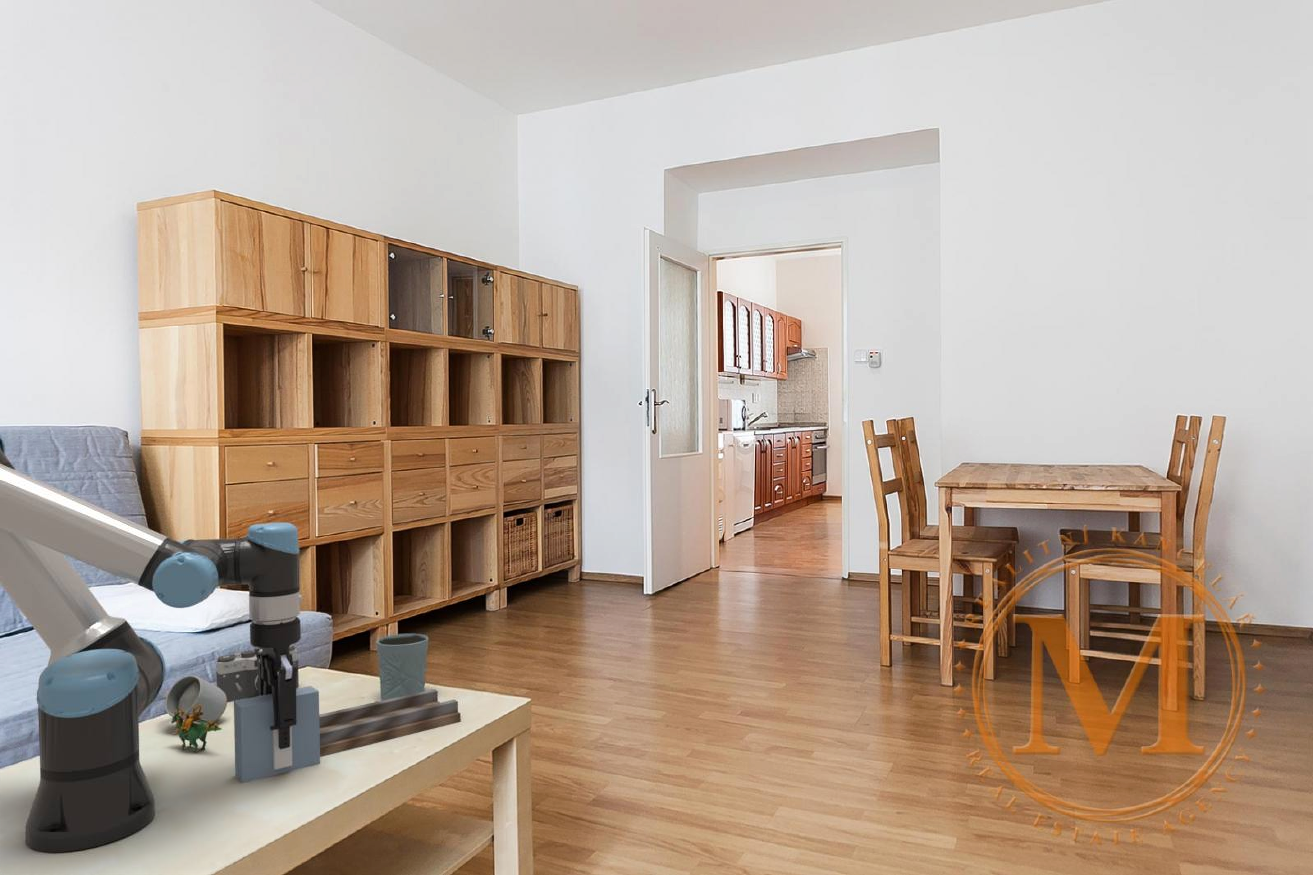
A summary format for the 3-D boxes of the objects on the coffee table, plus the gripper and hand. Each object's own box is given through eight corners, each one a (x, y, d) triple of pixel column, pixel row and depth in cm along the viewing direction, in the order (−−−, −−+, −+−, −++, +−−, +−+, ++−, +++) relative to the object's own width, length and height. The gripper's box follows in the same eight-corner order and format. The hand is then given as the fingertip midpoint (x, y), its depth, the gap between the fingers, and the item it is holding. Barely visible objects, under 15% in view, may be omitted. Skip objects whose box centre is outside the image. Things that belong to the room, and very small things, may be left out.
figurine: (180, 743, 154) (179, 697, 153) (229, 753, 149) (228, 706, 149) (164, 750, 151) (163, 703, 151) (214, 760, 146) (213, 711, 146)
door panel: (242, 783, 136) (240, 707, 136) (235, 775, 139) (233, 701, 139) (320, 763, 144) (318, 691, 144) (312, 756, 147) (310, 685, 147)
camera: (228, 713, 170) (227, 662, 170) (214, 701, 177) (213, 652, 177) (310, 696, 180) (309, 648, 180) (294, 685, 188) (293, 639, 187)
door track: (319, 756, 147) (319, 736, 147) (296, 737, 156) (296, 717, 156) (460, 721, 164) (460, 702, 164) (432, 705, 173) (431, 688, 173)
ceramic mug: (210, 735, 162) (238, 699, 164) (177, 724, 156) (207, 687, 158) (182, 705, 168) (209, 671, 170) (148, 694, 161) (178, 658, 163)
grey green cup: (368, 704, 174) (367, 644, 174) (390, 688, 184) (390, 632, 184) (416, 706, 173) (415, 645, 172) (436, 690, 183) (435, 633, 182)
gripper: (317, 624, 137) (319, 772, 138) (283, 607, 150) (285, 742, 151) (266, 632, 132) (269, 785, 133) (236, 613, 145) (239, 753, 146)
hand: (278, 762), depth 142 cm, fingers closed on door panel, 4 cm apart
